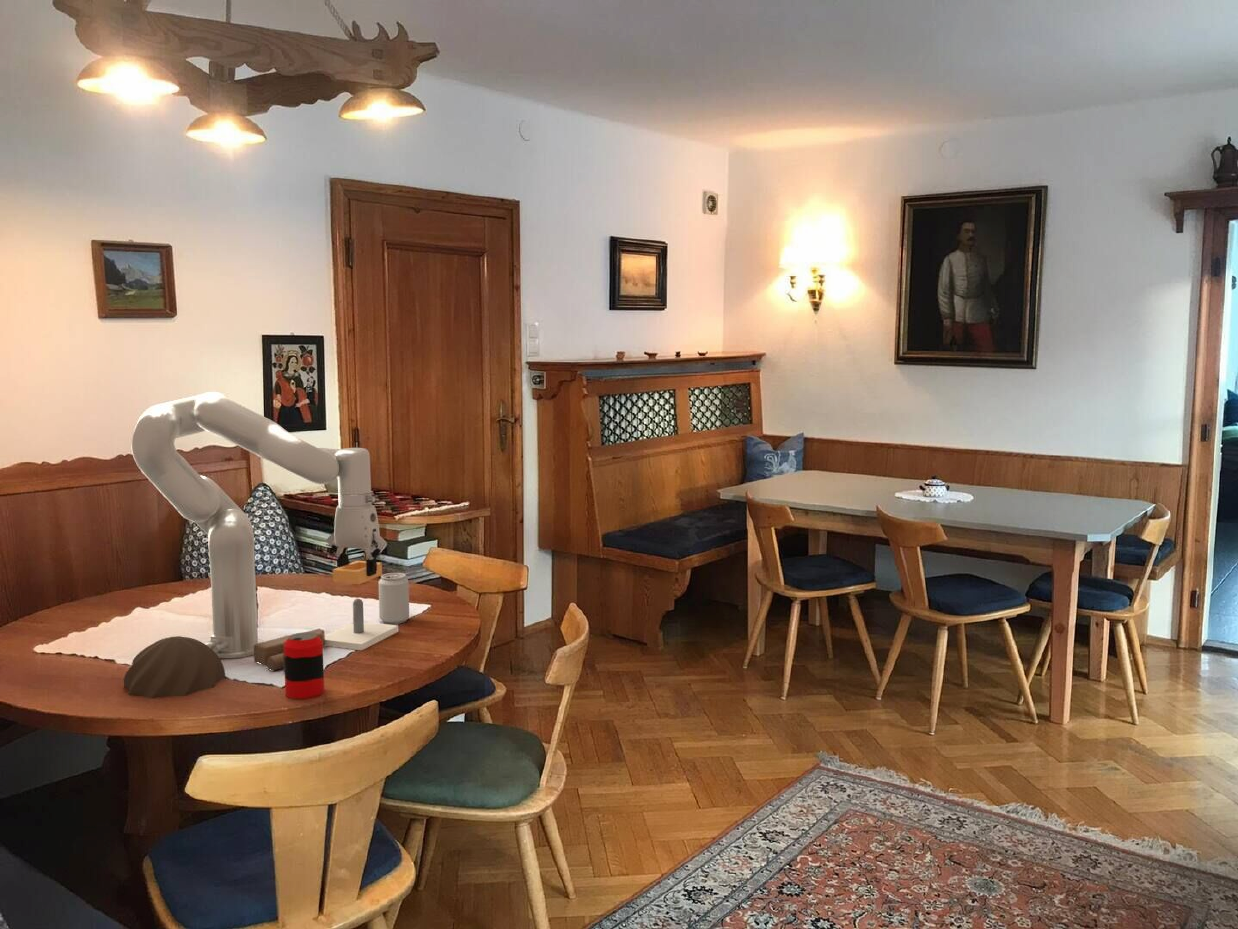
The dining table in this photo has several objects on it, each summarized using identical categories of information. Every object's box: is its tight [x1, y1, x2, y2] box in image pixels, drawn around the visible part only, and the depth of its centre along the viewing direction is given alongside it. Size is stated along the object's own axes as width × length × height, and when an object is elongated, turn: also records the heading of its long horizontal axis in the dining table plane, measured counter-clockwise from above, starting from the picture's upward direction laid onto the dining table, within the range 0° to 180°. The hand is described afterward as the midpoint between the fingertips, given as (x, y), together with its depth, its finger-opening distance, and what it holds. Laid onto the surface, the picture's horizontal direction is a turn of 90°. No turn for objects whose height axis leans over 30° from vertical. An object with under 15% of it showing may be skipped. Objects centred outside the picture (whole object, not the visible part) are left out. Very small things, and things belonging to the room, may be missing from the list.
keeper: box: [325, 598, 399, 651], centre depth 246 cm, size 16×12×10 cm
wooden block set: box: [253, 628, 326, 673], centre depth 229 cm, size 17×6×18 cm
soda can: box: [284, 631, 325, 700], centre depth 208 cm, size 8×8×12 cm
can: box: [378, 572, 410, 625], centre depth 260 cm, size 8×8×12 cm
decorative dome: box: [123, 635, 226, 699], centre depth 215 cm, size 19×20×10 cm
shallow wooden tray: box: [332, 560, 383, 585], centre depth 244 cm, size 10×7×3 cm
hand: (357, 573), depth 244 cm, fingers closed on shallow wooden tray, 7 cm apart
